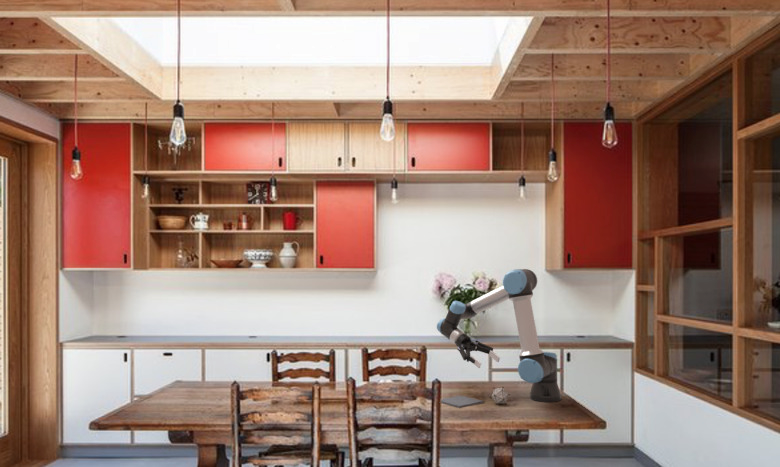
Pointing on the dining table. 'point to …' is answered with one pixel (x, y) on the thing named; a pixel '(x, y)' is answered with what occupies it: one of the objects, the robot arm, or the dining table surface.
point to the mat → (460, 401)
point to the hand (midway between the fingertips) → (489, 362)
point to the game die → (499, 395)
